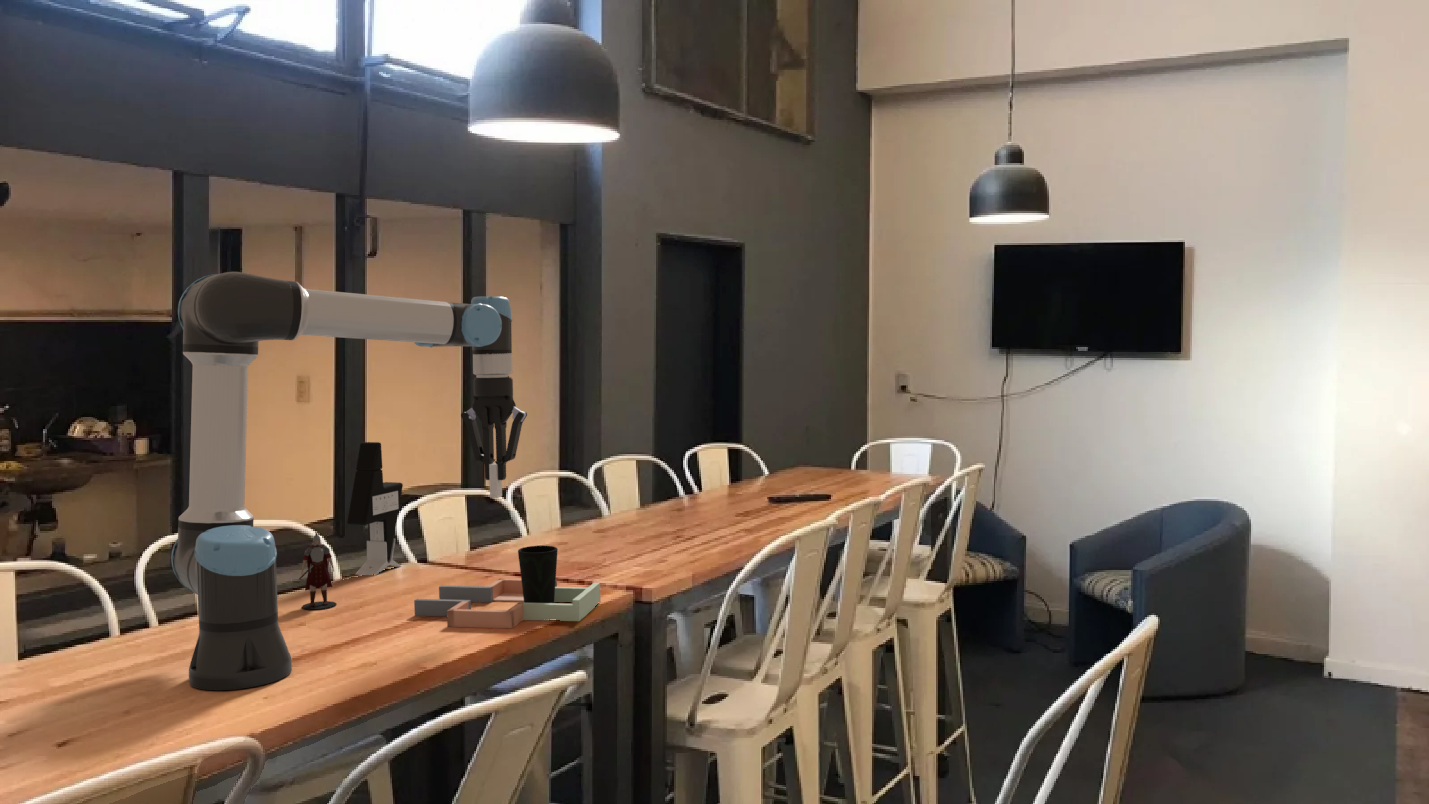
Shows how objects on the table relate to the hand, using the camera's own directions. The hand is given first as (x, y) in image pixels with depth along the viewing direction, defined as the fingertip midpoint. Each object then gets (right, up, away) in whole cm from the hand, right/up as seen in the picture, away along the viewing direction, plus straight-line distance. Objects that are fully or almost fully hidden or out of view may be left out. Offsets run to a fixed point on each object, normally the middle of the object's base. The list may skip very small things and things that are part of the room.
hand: (496, 496), depth 220 cm
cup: (+8, -22, +1) cm, 24 cm away
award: (-35, -21, +41) cm, 58 cm away
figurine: (-37, -23, +7) cm, 44 cm away
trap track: (+2, -22, +1) cm, 22 cm away
